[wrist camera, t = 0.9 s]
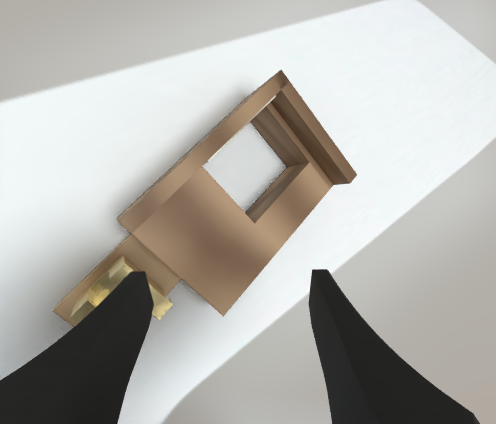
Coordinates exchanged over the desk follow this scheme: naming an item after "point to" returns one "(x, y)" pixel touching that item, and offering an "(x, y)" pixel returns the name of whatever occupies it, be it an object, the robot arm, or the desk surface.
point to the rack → (228, 204)
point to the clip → (107, 285)
